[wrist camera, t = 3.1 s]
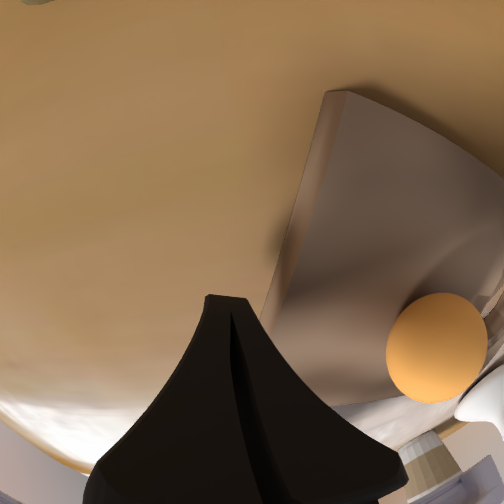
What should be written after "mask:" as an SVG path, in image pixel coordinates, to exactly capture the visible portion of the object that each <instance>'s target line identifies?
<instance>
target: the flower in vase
mask: <svg viewBox="0 0 504 504" xmlns="http://www.w3.org/2000/svg"><path fill="white" fill-rule="evenodd" d="M454 417H455V418H456V419H458V420H460V421H488V422H491V423H493V424H494V425H495V426H496V427H497V428H498V430H499V432H500V434H501V436H502V438H503V441H504V364H503V365H501V366H499V367H497V368H496V369H495V370H493V371H492V372H491V373H489V374H488V375H487V376H486V377H484V378H483V379H482V380H481V381H480V382H479V383H478V384H477V385H476V386H474V387H473V388H472V389H471V390H470V392H469V393H468V394H467V395H466V396H465V397H464V398H463V399H462V401H461V402H460V403H459V405H458V407H457V408H456V410H455V415H454Z"/></svg>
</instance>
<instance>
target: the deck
mask: <svg viewBox="0 0 504 504" xmlns="http://www.w3.org/2000/svg"><path fill="white" fill-rule="evenodd" d="M503 284H504V178H502V177H501V176H500V175H499V174H497V173H496V172H495V171H493V170H492V169H491V168H489V167H488V166H487V165H485V164H484V163H483V162H481V161H480V160H478V159H477V158H475V157H474V156H473V155H471V154H470V153H468V152H467V151H465V150H464V149H462V148H461V147H459V146H457V145H456V144H454V143H453V142H451V141H449V140H448V139H446V138H444V137H443V136H441V135H439V134H438V133H436V132H434V131H433V130H431V129H429V128H427V127H425V126H424V125H422V124H420V123H418V122H416V121H414V120H412V119H410V118H408V117H406V116H404V115H402V114H400V113H398V112H396V111H394V110H392V109H390V108H388V107H386V106H383V105H381V104H379V103H377V102H374V101H372V100H370V99H367V98H365V97H363V96H360V95H358V94H355V93H353V92H350V91H331V92H325V95H324V98H323V102H322V106H321V110H320V114H319V118H318V122H317V125H316V129H315V133H314V137H313V140H312V144H311V148H310V152H309V155H308V159H307V163H306V166H305V170H304V173H303V177H302V181H301V184H300V188H299V191H298V195H297V198H296V202H295V205H294V209H293V212H292V216H291V219H290V222H289V226H288V229H287V233H286V236H285V239H284V243H283V246H282V249H281V253H280V256H279V259H278V263H277V266H276V269H275V272H274V276H273V279H272V282H271V285H270V289H269V292H268V295H267V298H266V301H265V305H264V308H263V311H262V314H261V317H260V320H259V321H260V323H261V325H262V326H263V328H264V330H265V331H266V333H267V334H268V336H269V337H270V339H271V340H272V342H273V343H274V345H275V346H276V348H277V349H278V351H279V352H280V353H281V355H282V356H283V357H284V359H285V360H286V361H287V363H288V364H289V365H290V366H291V368H292V369H293V370H294V371H295V372H296V374H297V375H298V376H299V377H300V378H301V379H302V381H303V382H304V383H305V384H306V385H307V386H308V387H309V388H310V389H311V390H312V391H313V392H314V393H315V394H316V395H317V396H318V397H319V398H320V399H321V400H322V401H323V402H325V403H326V404H327V405H328V406H329V407H330V406H339V405H348V404H356V403H363V402H370V401H376V400H382V399H387V398H393V397H398V396H403V395H405V394H404V393H402V392H401V391H400V390H399V389H398V388H397V387H396V385H395V384H394V382H393V380H392V379H391V377H390V374H389V371H388V367H387V363H386V346H387V340H388V337H389V334H390V331H391V329H392V326H393V325H394V323H395V321H396V319H397V318H398V316H399V315H400V314H401V313H402V312H403V311H404V310H405V309H406V308H407V307H408V306H409V305H410V304H411V303H413V302H414V301H416V300H417V299H419V298H421V297H424V296H426V295H429V294H434V293H451V294H455V295H458V296H460V297H463V298H465V299H466V300H468V301H469V302H470V303H471V304H472V305H473V306H474V307H475V308H476V309H477V310H478V311H479V313H480V314H481V312H482V311H483V309H484V307H485V306H486V304H487V303H488V302H489V300H490V299H491V298H492V297H493V296H494V295H495V294H496V292H497V291H498V290H499V289H500V288H501V286H502V285H503ZM484 323H485V326H486V331H487V338H488V345H487V353H486V358H485V361H484V364H483V366H482V369H481V370H480V372H479V374H480V373H481V371H482V370H483V369H484V368H485V367H486V365H487V364H488V363H489V362H490V360H491V359H492V358H493V357H494V355H495V354H496V353H497V351H498V350H499V349H500V347H501V346H502V345H503V343H504V292H503V294H502V296H501V298H500V299H499V301H498V303H497V304H496V306H495V308H494V309H493V310H492V311H491V312H490V313H489V314H488V315H487V316H486V318H485V319H484ZM479 374H478V375H479Z"/></svg>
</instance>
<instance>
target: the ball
mask: <svg viewBox="0 0 504 504" xmlns="http://www.w3.org/2000/svg"><path fill="white" fill-rule="evenodd" d="M487 345H488V338H487V331H486V326H485V323H484V320H483V318H482V316H481V315H480V313H479V311H478V310H477V309H476V308H475V307H474V306H473V305H472V304H471V303H470V302H469V301H468V300H466V299H465V298H463V297H460V296H458V295H455V294H451V293H434V294H429V295H426V296H424V297H421V298H419V299H417V300H416V301H414V302H413V303H411V304H410V305H409V306H408V307H407V308H406V309H405V310H404V311H403V312H402V313H401V314H400V315H399V316H398V318H397V319H396V321H395V323H394V325H393V326H392V329H391V331H390V334H389V337H388V340H387V346H386V363H387V367H388V371H389V374H390V377H391V379H392V380H393V382H394V384H395V385H396V387H397V388H398V389H399V390H400V391H401V392H402V393H404V394H405V395H406V396H408V397H409V398H411V399H413V400H416V401H419V402H424V403H438V402H443V401H446V400H449V399H452V398H454V397H455V396H457V395H459V394H460V393H462V392H463V391H464V390H466V389H467V388H468V387H469V386H470V385H471V384H472V382H473V381H474V380H475V379H476V377H477V376H478V374H479V372H480V370H481V369H482V366H483V364H484V361H485V358H486V353H487Z"/></svg>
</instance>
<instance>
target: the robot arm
mask: <svg viewBox="0 0 504 504" xmlns="http://www.w3.org/2000/svg"><path fill="white" fill-rule="evenodd" d="M408 481H409V478H408V475H407V472H406V470H405V467H404V465H403V462H402V460H401V457H400V455H399V453H398V452H396V451H394V450H392V449H390V448H388V447H387V446H385V445H383V444H381V443H379V442H378V441H376V440H374V439H372V438H371V437H369V436H368V435H366V434H364V433H363V432H362V431H360V430H359V429H357V428H356V427H354V426H353V425H352V424H350V423H349V422H347V421H346V420H345V419H344V418H342V417H341V416H340V415H339V414H337V413H336V412H335V411H334V410H333V409H332V408H330V407H329V406H328V405H327V404H326V403H325V402H323V401H322V400H321V399H320V398H319V397H318V396H317V395H316V394H315V393H314V392H313V391H312V390H311V389H310V388H309V387H308V386H307V385H306V384H305V383H304V382H303V381H302V379H301V378H300V377H299V376H298V375H297V374H296V372H295V371H294V370H293V369H292V368H291V366H290V365H289V364H288V363H287V361H286V360H285V359H284V357H283V356H282V355H281V353H280V352H279V351H278V349H277V348H276V346H275V345H274V343H273V342H272V340H271V339H270V337H269V336H268V334H267V333H266V331H265V330H264V328H263V326H262V325H261V323H260V321H259V320H258V318H257V316H256V315H255V313H254V311H253V309H252V307H251V305H250V304H249V302H248V300H247V299H246V298H239V297H230V296H221V295H213V294H209V295H207V296H205V302H204V308H203V313H202V316H201V318H200V321H199V324H198V326H197V328H196V331H195V333H194V335H193V337H192V340H191V342H190V343H189V345H188V347H187V349H186V351H185V353H184V355H183V357H182V359H181V360H180V362H179V364H178V365H177V367H176V369H175V370H174V372H173V373H172V375H171V376H170V378H169V380H168V381H167V383H166V384H165V385H164V387H163V388H162V390H161V391H160V392H159V394H158V395H157V397H156V398H155V399H154V401H153V402H152V403H151V404H150V406H149V407H148V408H147V410H146V411H145V412H144V413H143V414H142V415H141V417H140V418H139V419H138V420H137V421H136V422H135V423H134V425H133V426H132V427H131V428H130V429H129V430H128V431H127V433H126V434H125V435H124V436H123V437H122V438H121V439H120V440H119V441H118V442H117V443H116V444H115V445H114V446H113V447H112V448H111V449H109V450H108V451H107V452H106V453H105V454H104V455H103V456H102V457H101V458H100V459H99V460H98V461H97V463H96V465H95V466H94V468H93V470H92V472H91V474H90V476H89V479H88V481H87V483H86V487H85V491H84V494H83V504H379V502H378V499H379V498H381V497H384V496H385V495H388V494H390V493H392V492H394V491H396V490H398V489H399V488H401V487H403V486H404V485H406V484H407V482H408ZM503 500H504V484H503V481H502V479H501V477H500V474H499V472H498V470H497V468H496V465H495V463H494V461H493V459H492V457H491V455H488V456H486V457H485V458H484V459H482V460H481V461H480V462H478V463H477V464H475V465H474V466H472V467H471V468H469V469H468V470H467V471H465V472H464V473H462V474H460V475H458V476H457V477H455V478H454V479H452V480H450V481H449V482H447V483H445V484H443V485H442V486H440V487H438V488H436V489H435V490H434V491H432V492H431V493H429V494H427V495H425V496H423V497H421V498H419V499H417V500H415V501H413V502H411V503H409V504H501V503H502V502H503ZM0 504H24V503H22V502H20V501H18V500H16V499H14V498H12V497H10V496H9V495H7V494H5V493H3V492H1V491H0Z"/></svg>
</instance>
